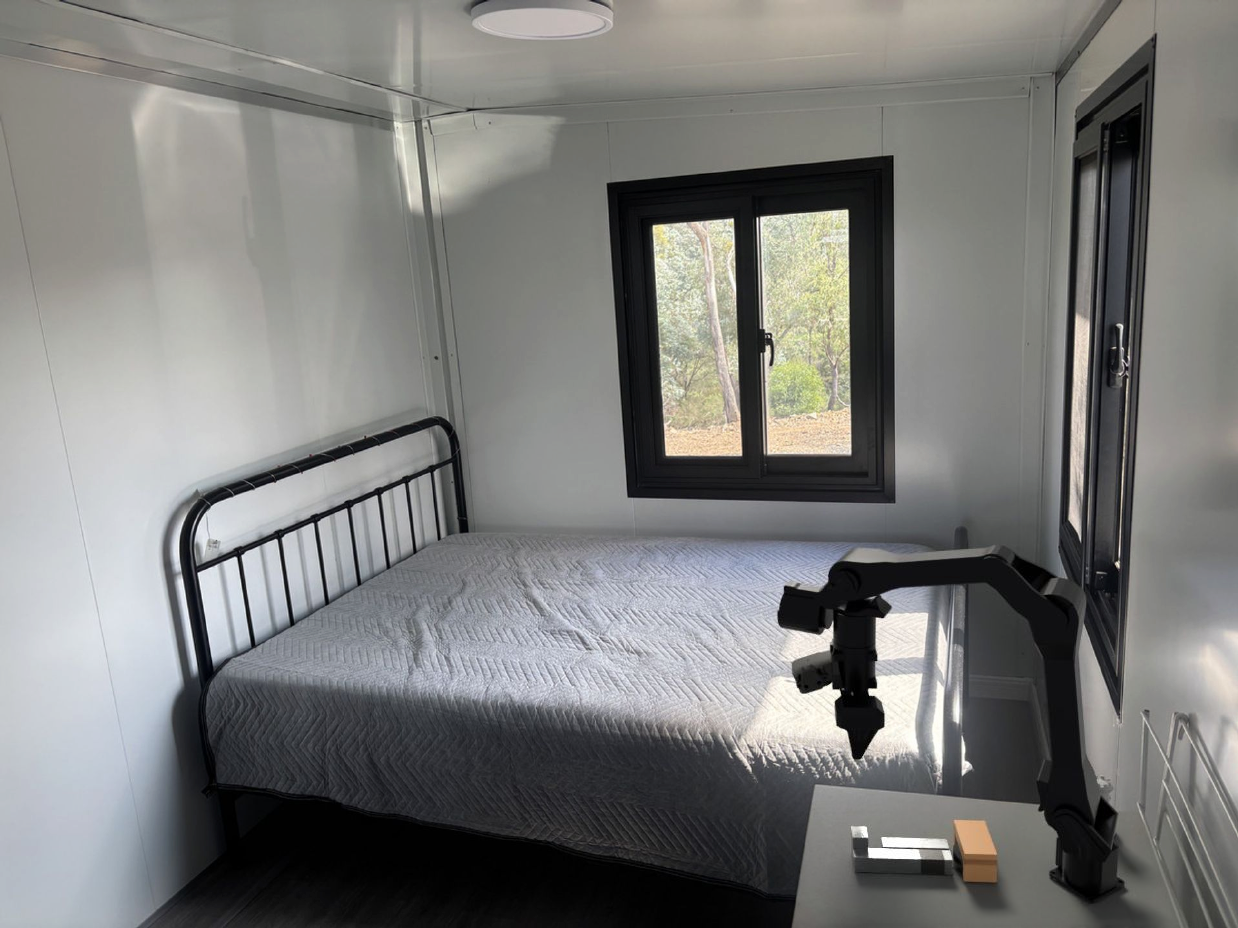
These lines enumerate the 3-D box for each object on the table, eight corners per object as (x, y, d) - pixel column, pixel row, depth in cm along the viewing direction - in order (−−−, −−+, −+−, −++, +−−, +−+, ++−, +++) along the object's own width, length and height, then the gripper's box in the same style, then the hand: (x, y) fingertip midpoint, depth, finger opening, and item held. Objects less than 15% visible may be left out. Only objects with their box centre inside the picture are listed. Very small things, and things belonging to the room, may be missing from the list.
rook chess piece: (1108, 821, 134) (1111, 770, 132) (1121, 841, 130) (1124, 788, 128) (1074, 821, 134) (1077, 770, 132) (1086, 841, 130) (1089, 789, 128)
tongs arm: (946, 853, 129) (946, 828, 129) (952, 874, 125) (952, 849, 124) (851, 850, 131) (851, 826, 131) (854, 871, 127) (854, 846, 126)
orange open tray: (984, 846, 130) (984, 820, 129) (996, 882, 123) (997, 854, 122) (953, 846, 131) (953, 819, 130) (964, 881, 124) (964, 853, 123)
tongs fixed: (980, 855, 129) (981, 839, 128) (988, 875, 125) (988, 859, 124) (881, 852, 131) (881, 837, 130) (885, 872, 127) (885, 856, 126)
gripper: (792, 612, 142) (793, 707, 146) (797, 670, 124) (798, 776, 128) (869, 612, 140) (868, 708, 144) (886, 671, 122) (884, 779, 126)
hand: (853, 741), depth 136 cm, fingers open, 9 cm apart
